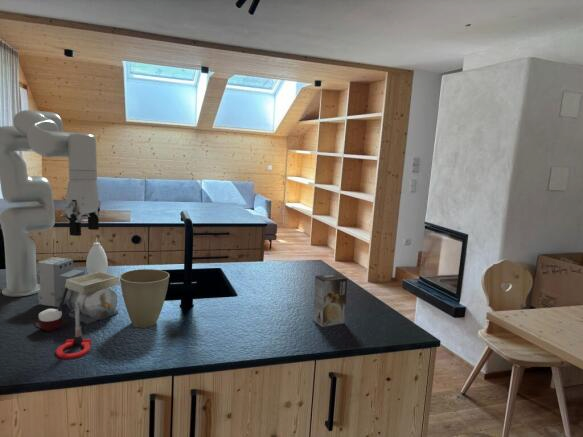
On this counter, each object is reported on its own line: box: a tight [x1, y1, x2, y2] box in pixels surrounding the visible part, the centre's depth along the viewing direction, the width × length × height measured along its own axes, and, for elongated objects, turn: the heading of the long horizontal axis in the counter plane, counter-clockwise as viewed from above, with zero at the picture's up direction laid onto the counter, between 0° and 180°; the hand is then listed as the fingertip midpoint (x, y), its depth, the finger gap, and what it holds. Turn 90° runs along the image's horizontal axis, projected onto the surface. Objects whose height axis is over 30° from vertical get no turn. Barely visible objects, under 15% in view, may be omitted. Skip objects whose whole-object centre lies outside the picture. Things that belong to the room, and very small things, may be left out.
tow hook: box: [55, 301, 93, 360], centre depth 119 cm, size 8×13×9 cm
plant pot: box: [119, 268, 170, 329], centre depth 139 cm, size 15×15×16 cm
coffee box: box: [312, 273, 348, 328], centre depth 148 cm, size 9×6×16 cm
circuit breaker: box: [36, 256, 85, 308], centre depth 153 cm, size 8×14×15 cm, turn 78°
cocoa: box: [32, 287, 68, 332], centre depth 132 cm, size 10×6×12 cm, turn 108°
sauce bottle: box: [85, 236, 109, 274], centre depth 179 cm, size 8×8×18 cm
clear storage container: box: [65, 271, 121, 325], centre depth 144 cm, size 16×13×13 cm
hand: (84, 232), depth 133 cm, fingers open, 9 cm apart
